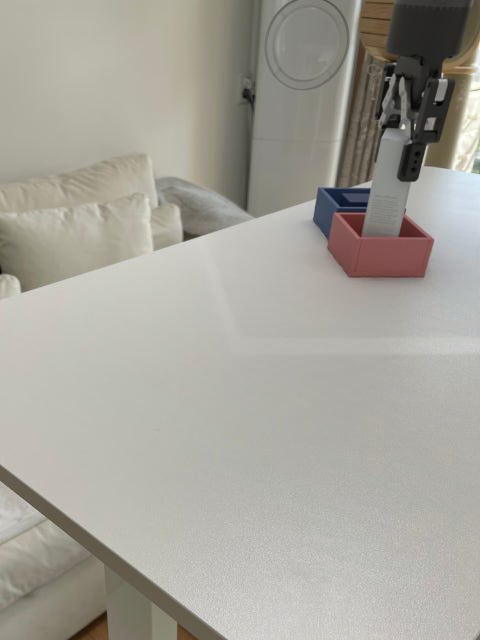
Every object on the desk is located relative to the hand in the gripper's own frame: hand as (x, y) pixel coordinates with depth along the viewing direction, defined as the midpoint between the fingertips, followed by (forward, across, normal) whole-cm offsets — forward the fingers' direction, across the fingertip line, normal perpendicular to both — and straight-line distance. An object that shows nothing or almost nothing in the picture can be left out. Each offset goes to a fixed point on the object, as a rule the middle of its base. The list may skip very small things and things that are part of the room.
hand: (394, 171), depth 75 cm
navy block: (+10, +12, -1) cm, 15 cm away
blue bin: (+11, +12, -1) cm, 16 cm away
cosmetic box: (+8, 0, 0) cm, 8 cm away
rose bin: (+11, 0, 0) cm, 11 cm away
